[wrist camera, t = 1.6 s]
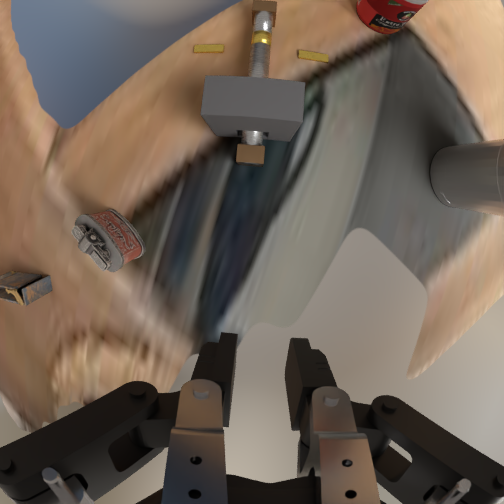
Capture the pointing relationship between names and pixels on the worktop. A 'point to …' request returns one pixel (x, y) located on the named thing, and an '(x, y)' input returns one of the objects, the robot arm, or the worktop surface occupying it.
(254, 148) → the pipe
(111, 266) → the lighter
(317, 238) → the worktop surface
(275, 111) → the block
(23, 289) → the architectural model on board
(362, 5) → the canned food
